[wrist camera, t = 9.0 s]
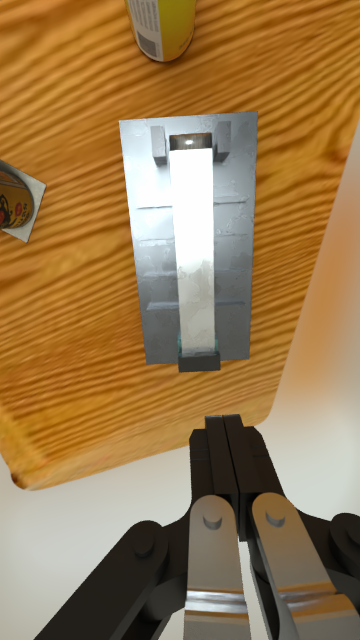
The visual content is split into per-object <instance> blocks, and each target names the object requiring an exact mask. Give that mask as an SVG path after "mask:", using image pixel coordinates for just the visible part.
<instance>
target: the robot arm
mask: <svg viewBox="0 0 360 640" xmlns="http://www.w3.org/2000/svg"><path fill="white" fill-rule="evenodd" d="M189 444H190V464H191V465H190V466H191V490H192V500H191V504H190V507H189V509H188V511H187V512H186V514H185V515H184V516H183V517H182V518H180V519H179V520H177V521H175V522H173V523H171V524H169V525H166V526H164V527H162V526H161V525H160V524H158V523H157V522H154V521H150V520H147V521H141V522H138V523H136V524H134V525H133V526H132V527H131V528H130V529H129V530H128V531H127V532H126V533H125V534H124V535H123V537H122V538H121V539H120V540H119V541H118V542H117V544H116V545H115V546H114V547H113V548H112V549H111V550H110V552H109V553H108V554H107V555H106V556H105V557H104V559H103V560H102V561H101V562H100V563H99V564H98V566H97V567H96V568H95V569H94V570H93V571H92V572H91V574H90V575H89V576H88V577H87V579H85V581H84V582H83V583H82V584H81V585H80V586H79V588H78V589H77V590H76V591H75V592H74V593H73V595H72V596H71V597H70V598H69V599H68V600H67V602H66V603H65V604H64V605H63V606H62V607H61V609H60V610H59V611H58V612H57V613H56V615H54V617H53V618H52V619H51V620H50V621H49V623H48V624H47V625H46V626H45V627H44V628H43V630H42V631H41V632H40V633H39V634H38V635H37V636H36V637H35V639H34V640H158V639H159V637H160V635H161V633H162V632H163V630H164V628H165V626H166V625H167V623H168V621H169V620H170V617H171V615H172V614H173V613H174V612H176V611H178V610H180V609H182V608H184V607H185V614H184V636H183V640H251V633H250V624H249V616H248V610H247V605H246V602H245V598H244V592H243V583H242V574H241V565H240V557H239V548H238V536H239V541H240V542H243V541H244V542H245V541H247V543H248V548H249V553H250V570H251V574H252V578H253V582H254V586H255V589H256V593H257V597H258V601H259V605H260V608H261V612H262V616H263V620H264V623H265V627H266V631H267V635H268V639H269V640H360V517H359V516H357V515H355V514H351V513H340V514H337V515H336V516H334V517H333V519H332V521H328V520H324V519H321V518H317V517H314V516H310V515H307V514H305V513H303V512H302V511H300V510H298V509H297V508H296V507H294V505H293V504H292V503H291V502H290V501H289V500H288V499H287V498H286V496H285V494H284V492H283V489H282V487H281V484H280V482H279V479H278V477H277V474H276V471H275V469H274V466H273V463H272V461H271V458H270V457H269V453H268V450H267V448H266V445H265V442H264V440H263V437H262V435H261V434H260V433H259V432H258V431H257V430H256V429H255V428H254V426H248V427H243V423H242V420H241V417H240V415H239V414H233V415H222V416H221V415H215V416H205V429H194V430H193V432H192V434H191V436H190V438H189Z"/></svg>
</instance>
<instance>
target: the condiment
mask: <svg viewBox="0 0 360 640" xmlns="http://www.w3.org/2000/svg"><path fill="white" fill-rule="evenodd" d="M45 187H46V185H45V184H43V183H41V182H40V181H38V180H36V179H34V178H32V177H31V176H29V175H27V174H25V173H23V172H22V171H20V170H18V169H16V168H14V167H12V166H11V165H9V164H7V163H5V162H3V161H1V160H0V229H1V230H3V231H5V232H7V233H9V234H11V235H13V236H15V237H17V238H19V239H21V240H23V241H24V242H26V243H27V241H28V238H29V235H30V233H31V230H32V227H33V224H34V221H35V218H36V215H37V212H38V209H39V206H40V203H41V199H42V196H43V193H44V190H45Z"/></svg>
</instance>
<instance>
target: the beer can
mask: <svg viewBox="0 0 360 640" xmlns="http://www.w3.org/2000/svg"><path fill="white" fill-rule="evenodd" d="M196 1H197V0H125V4H126V8H127V12H128V16H129V20H130V24H131V29H132V33H133V36H134V38H135V41H136V43H137V44H138V46H139V48H140V49H141V50H142V51H143V52H144V53H145V54H146V55H147V56H148V57H150V58H152V59H154V60H157V61H170V60H173V59H175V58H177V57H178V56H180V55H181V54H182V53H183V52H184V51H185V50H186V48H187V47H188V45H189V43H190V41H191V39H192V36H193V32H194V26H195V13H196Z"/></svg>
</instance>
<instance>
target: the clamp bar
mask: <svg viewBox="0 0 360 640" xmlns="http://www.w3.org/2000/svg"><path fill="white" fill-rule="evenodd" d="M169 146H170V162H171V178H172V195H173V211H174V228H175V244H176V261H177V277H178V294H179V310H180V327H181V343H182V353H178V366H179V372H197V371H217V370H220V353H219V351H215V330H214V257H213V183H212V132H207V133H191V134H176V135H169Z"/></svg>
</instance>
